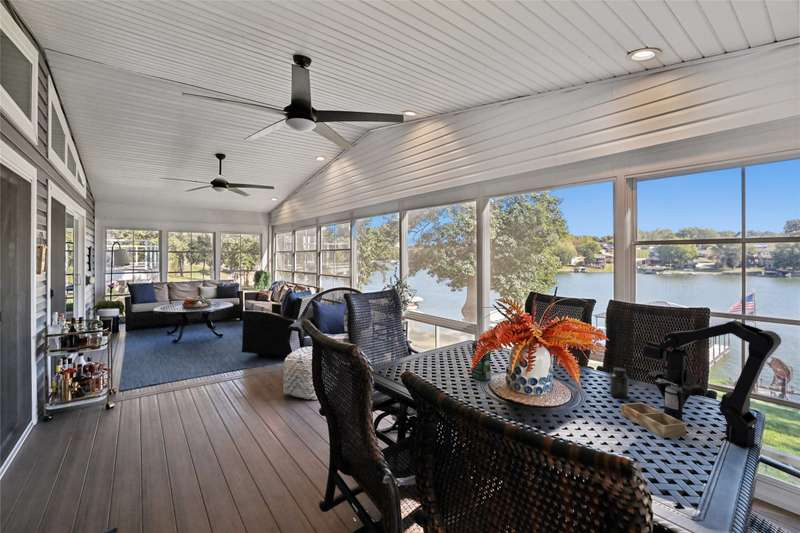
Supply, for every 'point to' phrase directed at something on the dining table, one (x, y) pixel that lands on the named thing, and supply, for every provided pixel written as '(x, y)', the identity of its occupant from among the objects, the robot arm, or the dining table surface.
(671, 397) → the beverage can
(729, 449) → the dining table surface
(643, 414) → the caddy
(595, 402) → the dining table surface
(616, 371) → the supplement bottle
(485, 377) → the coffee jar
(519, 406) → the dining table surface
